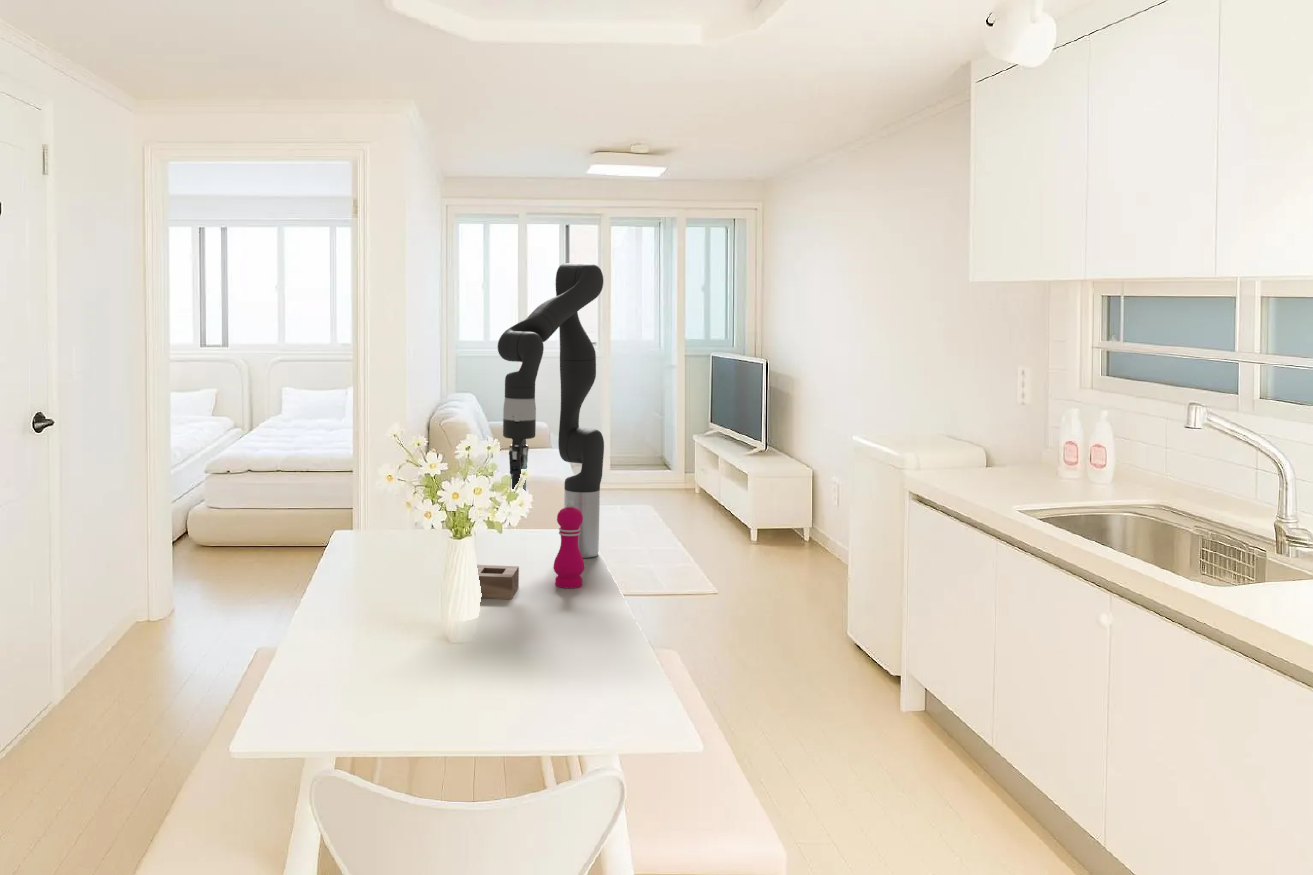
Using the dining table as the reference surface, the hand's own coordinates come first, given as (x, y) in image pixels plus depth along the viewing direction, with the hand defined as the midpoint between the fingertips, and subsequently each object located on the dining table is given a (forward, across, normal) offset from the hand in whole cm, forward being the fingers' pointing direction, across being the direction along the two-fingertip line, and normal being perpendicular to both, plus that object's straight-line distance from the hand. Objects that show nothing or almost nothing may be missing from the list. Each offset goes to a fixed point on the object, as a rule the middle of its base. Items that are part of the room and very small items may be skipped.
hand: (518, 489), depth 257 cm
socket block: (+22, +12, -3) cm, 25 cm away
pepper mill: (+22, +4, +13) cm, 25 cm away
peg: (+3, 0, 0) cm, 3 cm away
